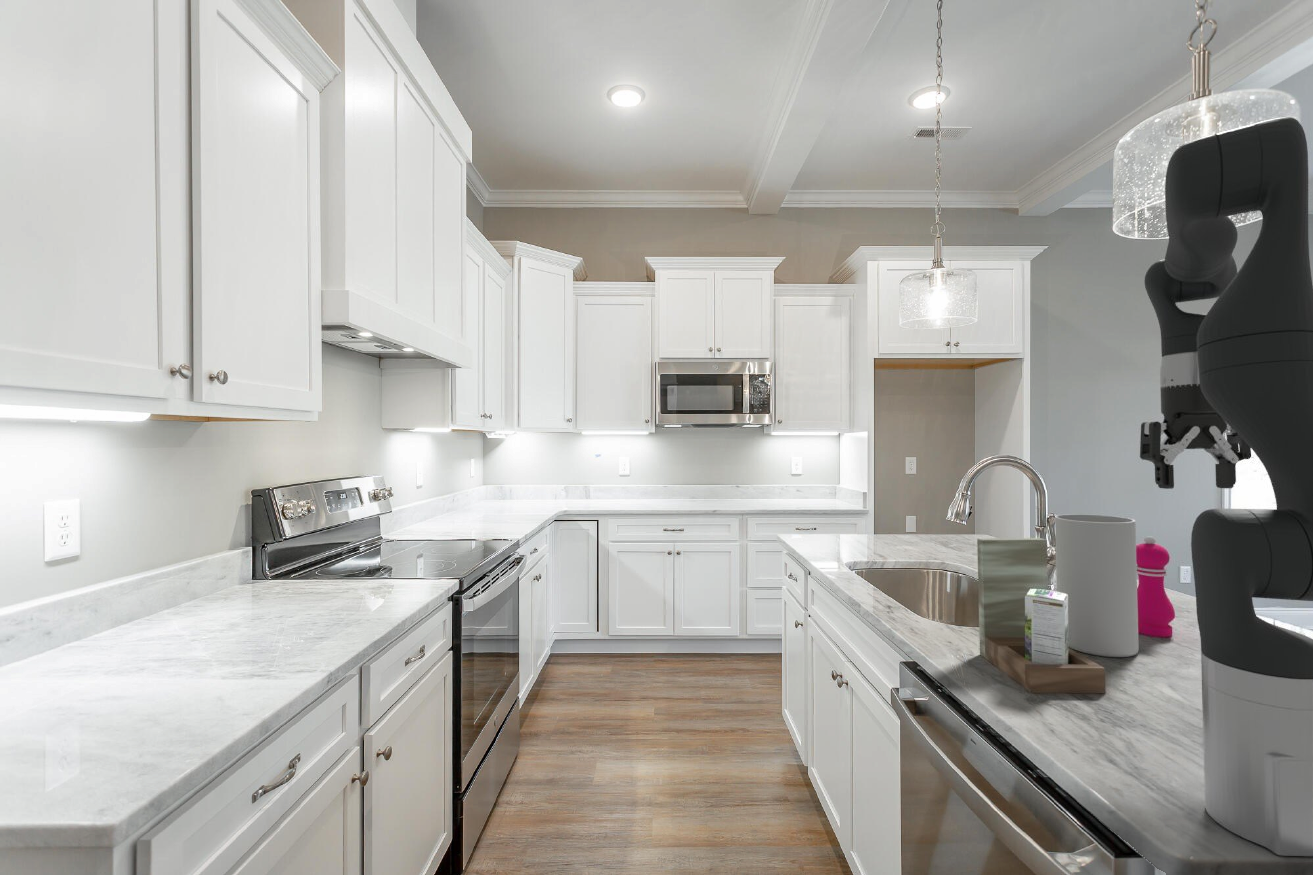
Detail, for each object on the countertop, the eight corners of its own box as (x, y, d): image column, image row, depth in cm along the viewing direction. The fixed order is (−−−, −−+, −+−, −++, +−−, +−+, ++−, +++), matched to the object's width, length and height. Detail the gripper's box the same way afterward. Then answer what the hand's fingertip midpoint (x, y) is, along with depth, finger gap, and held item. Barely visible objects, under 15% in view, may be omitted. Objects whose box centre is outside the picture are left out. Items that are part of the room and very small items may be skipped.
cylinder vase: (1148, 648, 111) (1145, 518, 111) (1125, 664, 104) (1121, 525, 104) (1072, 631, 121) (1070, 512, 122) (1046, 644, 114) (1043, 518, 114)
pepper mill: (1170, 629, 121) (1168, 534, 122) (1180, 640, 115) (1177, 539, 115) (1126, 624, 125) (1124, 532, 125) (1133, 634, 119) (1131, 537, 119)
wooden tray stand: (1105, 693, 92) (1102, 555, 93) (1030, 692, 93) (1027, 556, 93) (1043, 654, 109) (1040, 538, 109) (979, 654, 110) (977, 538, 110)
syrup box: (1029, 669, 103) (1027, 587, 103) (1070, 677, 99) (1068, 592, 99) (1025, 679, 98) (1022, 594, 98) (1067, 688, 95) (1065, 599, 95)
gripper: (1162, 382, 87) (1165, 490, 86) (1265, 379, 86) (1268, 489, 85) (1126, 387, 94) (1128, 487, 94) (1219, 385, 93) (1222, 486, 93)
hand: (1195, 488), depth 90 cm, fingers open, 8 cm apart
